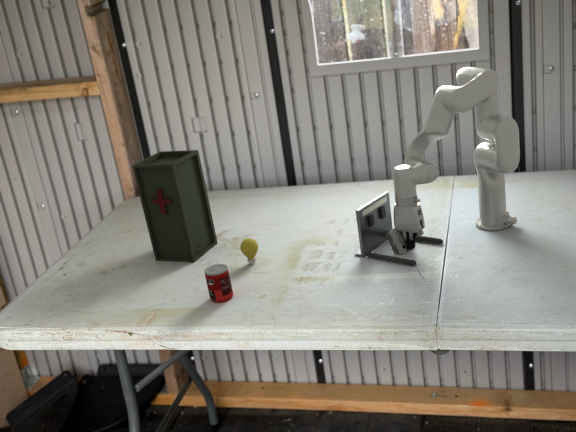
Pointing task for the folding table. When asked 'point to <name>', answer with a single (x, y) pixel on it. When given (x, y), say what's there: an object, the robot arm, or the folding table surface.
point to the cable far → (429, 239)
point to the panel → (373, 223)
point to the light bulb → (249, 250)
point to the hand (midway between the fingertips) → (411, 248)
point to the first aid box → (176, 205)
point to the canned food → (218, 283)
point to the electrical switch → (396, 241)
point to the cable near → (391, 259)
